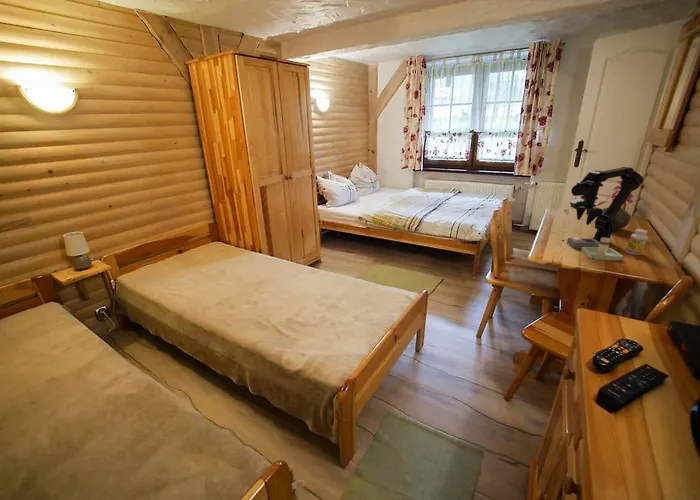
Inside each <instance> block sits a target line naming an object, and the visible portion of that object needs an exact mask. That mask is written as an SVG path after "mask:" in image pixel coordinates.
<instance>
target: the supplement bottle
mask: <svg viewBox="0 0 700 500" xmlns="http://www.w3.org/2000/svg"><path fill="white" fill-rule="evenodd" d="M648 232H649V231H648V230H646V229H642V228H636V229H635V232H634V233H632V234H631V235H630V237H629V240H628V242H627V243H628V244H627V247H626V249H625V252H626V253H628V254H629V255H633V256H641V255H642V254H643V251H644V249H645V246H646V244H647V242H648V238H649V237H648V236H647V234H648Z"/></svg>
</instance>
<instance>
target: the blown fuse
mask: <svg viewBox="0 0 700 500" xmlns="http://www.w3.org/2000/svg"><path fill="white" fill-rule="evenodd" d="M610 241H611V242H612V239H611V238H610V239H609V238H605V237H602V238H601V240H600V242H599V247H598V250H597V253H596V255H606V253H607V250H608V248H610V245H611V242H610Z"/></svg>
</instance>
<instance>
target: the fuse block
mask: <svg viewBox="0 0 700 500" xmlns="http://www.w3.org/2000/svg"><path fill="white" fill-rule="evenodd" d="M599 243H600V242H598V241H596V240H595V239H593V237H591V238H589V237H587V238H586V237H568V238H567V242H566V244H567V245H568V244H569V245H568V246H570V247H571V248H572V249H575V250H576V249H579V250H581V249H582V247H597V248H598V247H599Z"/></svg>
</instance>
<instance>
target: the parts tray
mask: <svg viewBox="0 0 700 500" xmlns="http://www.w3.org/2000/svg"><path fill="white" fill-rule="evenodd" d="M597 250H598V248H597V247H582V249H580V252H582V254H584V255H585V256H586V257H587V258H589V259H591V260H593V261H594V260H596V261H613V262H614V261H617V262H620V261H621V262H623V260H624V257H625V256H624V255H622V254H621V253H619V252H618V251H616V250H615V249H613V248H611V247H608V250H607V253H606V255H596V253H597Z"/></svg>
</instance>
